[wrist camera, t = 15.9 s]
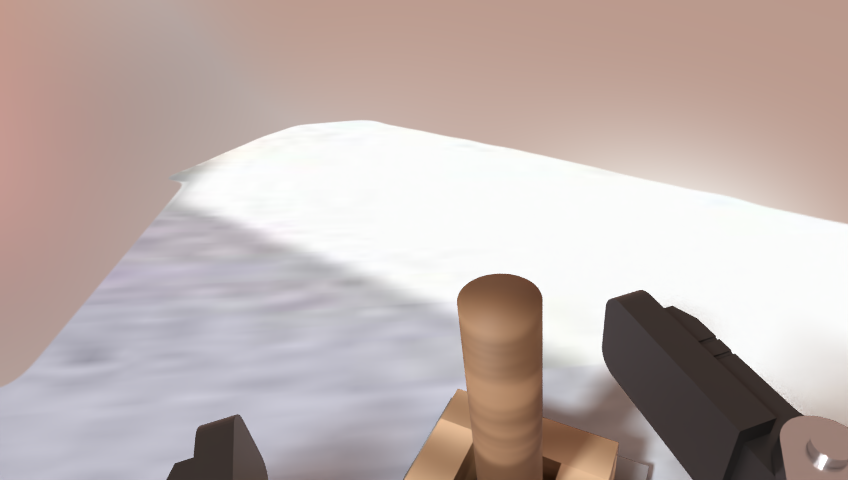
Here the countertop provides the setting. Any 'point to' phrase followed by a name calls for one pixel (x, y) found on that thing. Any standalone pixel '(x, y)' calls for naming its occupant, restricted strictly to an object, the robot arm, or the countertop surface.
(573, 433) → the socket block
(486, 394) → the peg
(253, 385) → the countertop surface
